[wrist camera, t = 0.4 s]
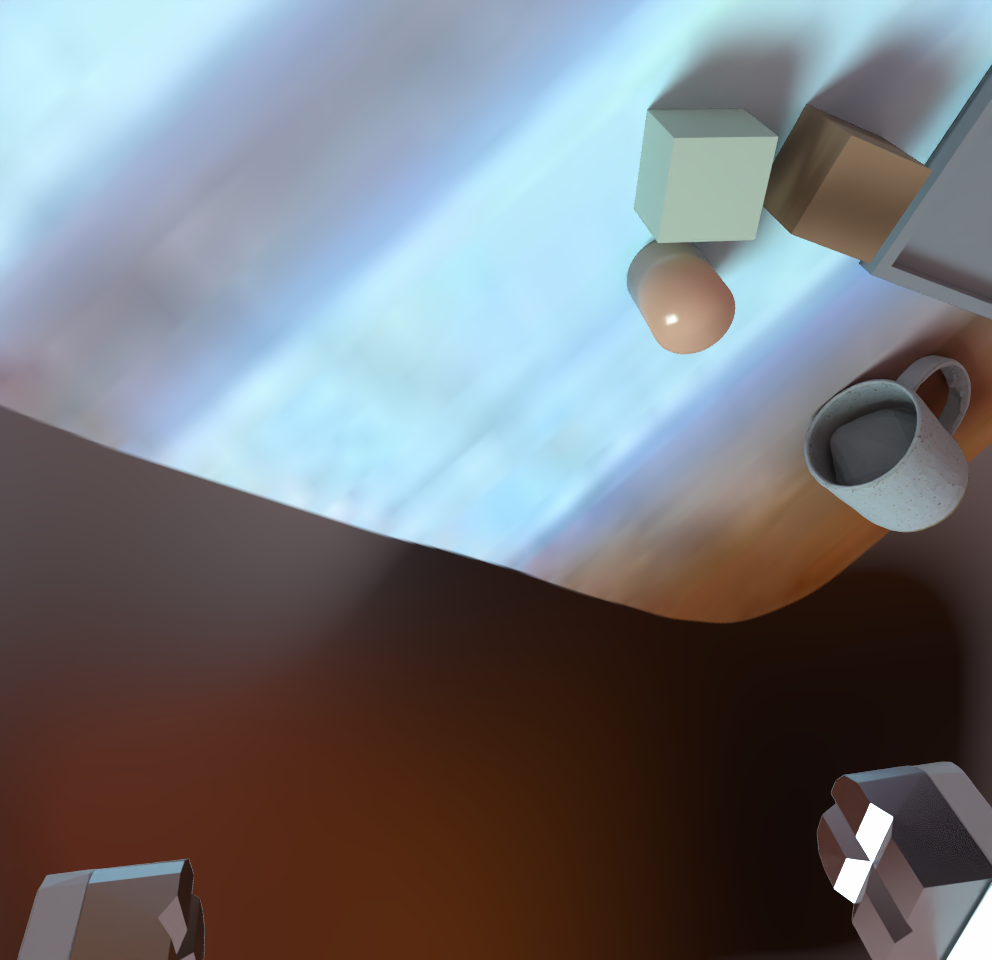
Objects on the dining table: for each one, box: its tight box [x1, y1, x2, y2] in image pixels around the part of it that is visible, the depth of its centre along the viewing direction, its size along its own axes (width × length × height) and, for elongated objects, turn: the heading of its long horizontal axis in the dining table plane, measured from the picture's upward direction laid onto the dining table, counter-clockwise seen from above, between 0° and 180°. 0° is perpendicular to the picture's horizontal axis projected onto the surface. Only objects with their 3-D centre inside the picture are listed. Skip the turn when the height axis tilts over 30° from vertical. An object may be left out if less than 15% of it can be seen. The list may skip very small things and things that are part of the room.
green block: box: [634, 109, 779, 243], centre depth 43 cm, size 5×5×4 cm
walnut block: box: [763, 104, 933, 263], centre depth 44 cm, size 5×5×5 cm
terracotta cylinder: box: [627, 241, 735, 354], centre depth 46 cm, size 4×4×5 cm
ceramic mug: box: [804, 355, 971, 532], centre depth 54 cm, size 11×8×8 cm
